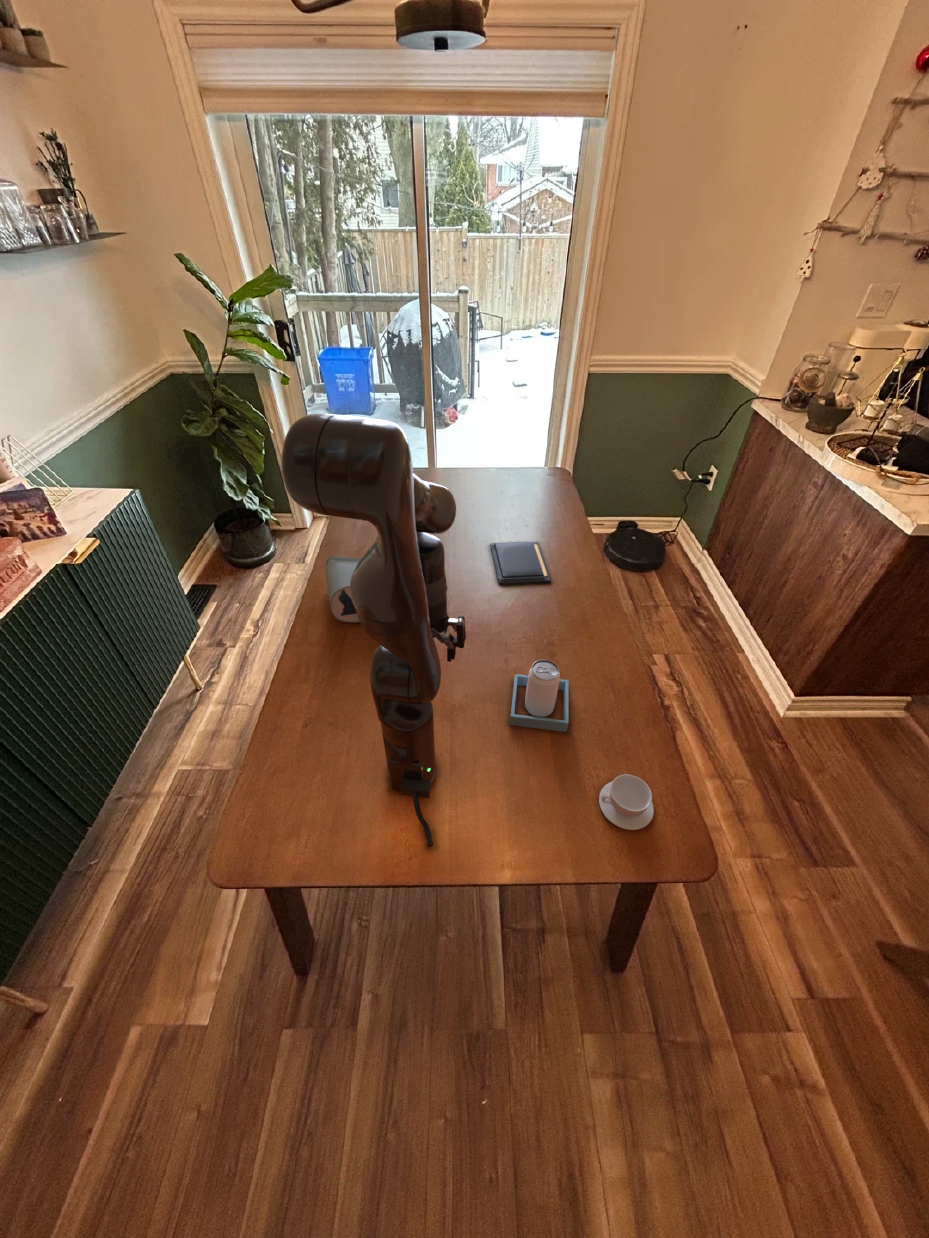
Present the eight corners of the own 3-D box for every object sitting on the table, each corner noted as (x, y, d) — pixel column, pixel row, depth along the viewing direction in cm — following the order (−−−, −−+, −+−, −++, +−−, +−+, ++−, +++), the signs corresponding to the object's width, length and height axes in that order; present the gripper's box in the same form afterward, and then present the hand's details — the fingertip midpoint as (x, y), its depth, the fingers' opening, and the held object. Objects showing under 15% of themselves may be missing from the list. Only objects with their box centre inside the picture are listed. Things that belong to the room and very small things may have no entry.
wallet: (490, 539, 161) (540, 538, 162) (490, 544, 162) (539, 543, 163) (497, 580, 146) (551, 578, 147) (497, 585, 148) (551, 584, 149)
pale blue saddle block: (334, 628, 134) (326, 589, 126) (328, 583, 148) (320, 544, 139) (419, 613, 139) (417, 574, 130) (406, 571, 152) (403, 533, 144)
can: (552, 720, 114) (560, 683, 106) (522, 715, 115) (527, 678, 107) (555, 697, 119) (562, 660, 110) (526, 692, 119) (531, 655, 111)
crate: (566, 732, 112) (568, 723, 110) (509, 725, 113) (510, 716, 111) (566, 688, 120) (568, 680, 118) (513, 682, 122) (514, 673, 120)
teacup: (644, 780, 103) (650, 767, 100) (659, 830, 96) (666, 817, 93) (593, 782, 103) (597, 768, 100) (605, 831, 96) (610, 819, 93)
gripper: (379, 601, 90) (387, 666, 101) (462, 610, 89) (461, 674, 100) (390, 574, 95) (396, 638, 106) (468, 582, 94) (467, 646, 105)
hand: (428, 656), depth 103 cm, fingers open, 8 cm apart
